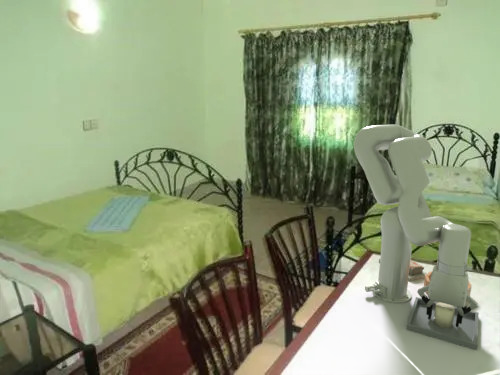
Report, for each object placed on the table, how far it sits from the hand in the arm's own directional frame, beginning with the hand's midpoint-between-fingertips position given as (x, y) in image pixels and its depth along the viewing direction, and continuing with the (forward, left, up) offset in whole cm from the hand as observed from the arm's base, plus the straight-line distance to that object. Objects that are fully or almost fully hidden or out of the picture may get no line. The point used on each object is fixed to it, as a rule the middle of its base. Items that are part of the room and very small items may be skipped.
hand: (443, 320), depth 116 cm
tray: (0, 0, -2) cm, 2 cm away
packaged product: (+12, +36, -2) cm, 38 cm away
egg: (0, 0, -1) cm, 1 cm away
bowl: (+15, +15, -2) cm, 21 cm away
